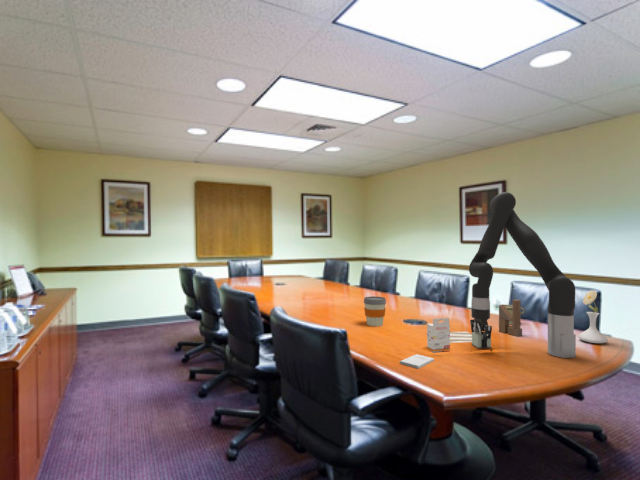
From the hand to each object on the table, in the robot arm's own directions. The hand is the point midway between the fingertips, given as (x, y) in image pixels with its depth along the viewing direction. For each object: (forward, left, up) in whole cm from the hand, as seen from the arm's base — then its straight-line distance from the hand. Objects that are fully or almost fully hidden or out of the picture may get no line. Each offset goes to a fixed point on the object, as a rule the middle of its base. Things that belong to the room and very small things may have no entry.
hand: (480, 345), depth 162 cm
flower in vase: (+5, -59, -2) cm, 59 cm away
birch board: (+16, +4, -2) cm, 17 cm away
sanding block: (0, 0, -1) cm, 1 cm away
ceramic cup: (+45, -45, -2) cm, 64 cm away
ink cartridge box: (+1, +19, -2) cm, 19 cm away
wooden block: (+24, -30, -2) cm, 38 cm away
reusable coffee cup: (+52, +34, -2) cm, 62 cm away
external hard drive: (-12, +34, -3) cm, 36 cm away
